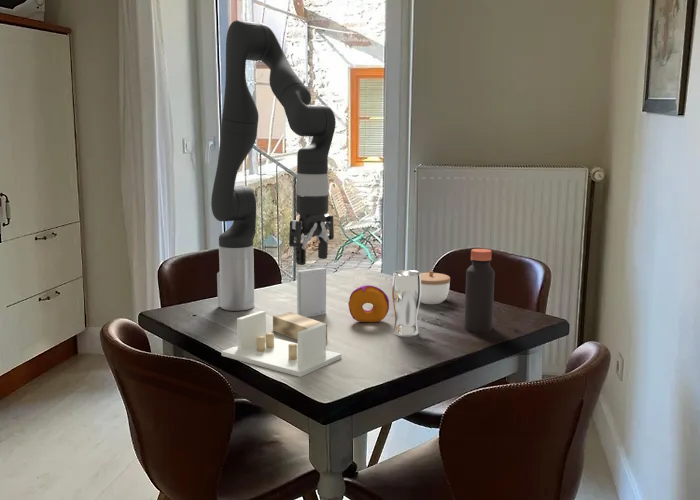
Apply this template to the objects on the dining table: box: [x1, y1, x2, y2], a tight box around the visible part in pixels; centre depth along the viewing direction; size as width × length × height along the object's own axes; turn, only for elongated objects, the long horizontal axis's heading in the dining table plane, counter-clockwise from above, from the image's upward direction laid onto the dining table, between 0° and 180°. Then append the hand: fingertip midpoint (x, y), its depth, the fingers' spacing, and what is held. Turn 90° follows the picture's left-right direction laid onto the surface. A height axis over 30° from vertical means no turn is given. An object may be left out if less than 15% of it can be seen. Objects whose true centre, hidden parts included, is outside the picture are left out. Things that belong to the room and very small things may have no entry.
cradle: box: [221, 310, 342, 378], centre depth 152 cm, size 22×14×8 cm, turn 55°
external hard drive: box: [296, 267, 327, 318], centre depth 184 cm, size 2×8×12 cm, turn 123°
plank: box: [272, 311, 328, 341], centre depth 168 cm, size 14×6×4 cm, turn 42°
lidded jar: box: [420, 270, 451, 305], centre depth 198 cm, size 11×11×9 cm
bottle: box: [463, 248, 496, 334], centre depth 171 cm, size 7×7×20 cm
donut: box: [348, 284, 390, 323], centre depth 178 cm, size 8×9×10 cm
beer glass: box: [391, 269, 422, 338], centre depth 169 cm, size 7×7×15 cm
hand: (311, 261), depth 166 cm, fingers open, 8 cm apart
